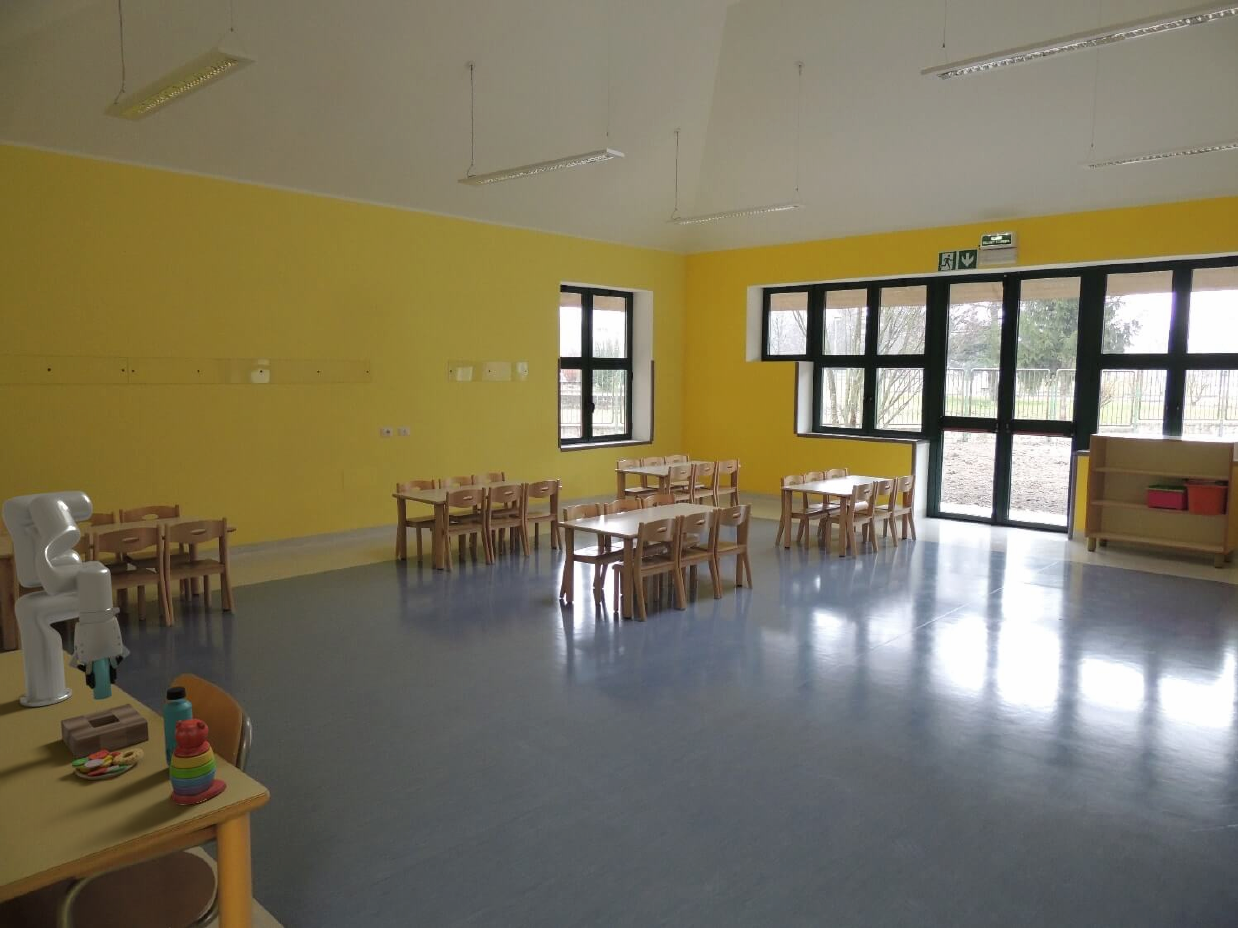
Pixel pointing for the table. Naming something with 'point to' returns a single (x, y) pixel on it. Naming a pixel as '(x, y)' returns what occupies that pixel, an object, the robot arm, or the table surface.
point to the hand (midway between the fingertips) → (101, 684)
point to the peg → (101, 679)
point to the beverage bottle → (174, 717)
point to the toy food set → (106, 764)
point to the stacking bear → (193, 764)
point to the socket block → (104, 730)
